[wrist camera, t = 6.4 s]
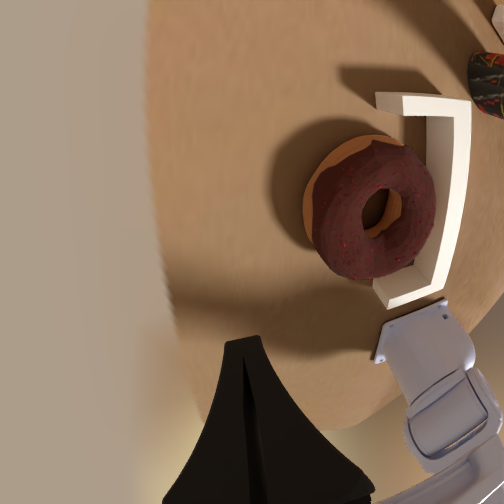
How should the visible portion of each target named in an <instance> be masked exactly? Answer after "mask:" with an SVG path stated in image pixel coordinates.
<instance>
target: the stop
mask: <svg viewBox="0 0 504 504" xmlns="http://www.w3.org/2000/svg"><path fill="white" fill-rule="evenodd" d="M375 98H376V108H377V109H378V110H382V111H386V112H391V113H395V114H399V115H402V116H426V168H427V170H428V171H429V172H430V175H431V177H432V178H433V182H434V188H435V193H436V194H435V195H436V213H435V219H434V226H433V228H432V230H431V233H430V235H429V237H428V239H427V241H426V243H425V244H424V246H423V248H422V249H421V250H420V253H418V255H417V257H415V260H414V265H411V266H408V267H405V268H402V269H400V270H399V271H396V272H394V273H392V274H390V275H386V276H385V277H383V276H382V277H380V278H373V285H372V288H373V289H374V291H375V292H376V294H377V295H378V297H379V298H380V300H381V301H382V303H383V304H384V306H385V307H386V309H387V310H389V309H391V308H394V307H397V306H400V305H402V304H405V303H408V302H410V301H413V300H416V299H418V298H421V297H423V296H426V295H428V294H431V293H433V292H436V291H438V290H440V289H443V288H444V285H445V281H446V278H447V275H448V271H449V268H450V265H451V261H452V257H453V253H454V249H455V245H456V241H457V237H458V233H459V228H460V223H461V218H462V213H463V207H464V201H465V194H466V187H467V179H468V170H469V160H470V145H471V101H467V100H463V99H459V98H454V97H450V96H445V95H437V94H426V93H410V92H375Z"/></svg>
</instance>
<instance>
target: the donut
mask: <svg viewBox="0 0 504 504" xmlns="http://www.w3.org/2000/svg"><path fill="white" fill-rule="evenodd" d="M379 189H389V196H388V201H387V204H386V208H385V212H384V214H383V217H382V219H381V220H380V222H379V223H378V224H377V225H376V226H374V227H372V228H370V229H366V230H363V224H362V220H361V215H362V210H363V208H364V206H365V204H367V200H368V198H369V197H371V196H372V195H373V194H374V193H375V192H376V191H378V190H379ZM376 193H377V192H376ZM435 194H436V193H435V188H434V182H433V178H432V177H431V175H430V172H429V171H428V170H427V168H426V167H425V165H424V164H423V162H422V161H421V160H420V159H419V158H418V156H417V155H416V154H415V152H414V151H413V149H412V148H410V147H409V146H407V145H404V144H402V143H401V142H399V141H398V140H396V139H394V138H391V137H389V136H384V135H364V136H359V137H356V138H353V139H351V140H349V141H347V142H345V143H343V144H342V145H340V146H339V147H337V148H336V149H334V150H333V151H332V152H331V153H330V154H329V155H328V156H327V157H326V158H325V159H324V160H323V161H322V162H321V164H320V165H319V167H318V168H317V170H316V171H315V173H314V174H313V176H312V177H311V179H310V180H309V182H308V184H307V186H306V189H305V193H304V196H303V209H302V212H303V219H304V226H305V230H306V233H307V236H308V238H309V240H310V241H311V243H312V244H313V246H314V247H315V249H316V250H317V252H318V253H319V255H320V256H321V258H322V259H323V260H324V262H325V263H326V264H327V266H328V267H329V268H330V269H331V270H332V271H333V272H335V273H336V274H337V275H340V276H343V277H346V278H348V279H351V280H352V279H353V280H360V281H361V280H362V279H371V278H380V277H382V276H383V277H385V276H386V275H390V274H392V273H394V272H396V271H399V270H400V269H402V268H404V266H406V265H407V264H408V263H410V262H411V261H412V260H413V259H414V258H415V257H417V255H418V253H420V250H421V249H422V248H423V246H424V244H425V243H426V241H427V239H428V237H429V235H430V233H431V230H432V228H433V226H434V219H435V213H436V195H435Z"/></svg>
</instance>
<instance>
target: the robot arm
mask: <svg viewBox="0 0 504 504" xmlns="http://www.w3.org/2000/svg"><path fill="white" fill-rule="evenodd" d="M447 303H448V300H447V299H443V300H441V301H439V302H437V303H434V304H432V305H430V306H427V307H425V308H422V309H420V310H418V311H415V312H413V313H410V314H408V315H405V316H402V317H400V318H397V319H395V320H392V321H389V322H387V323H385V324H384V325H383V327H382V331H381V335H380V339H379V343H378V347H377V351H376V354H375V358H374V363H375V364H378V363H380V362H383V361H385V360H386V361H387V362H388V364H389V366H390V368H391V370H392V372H393V374H394V376H395V378H396V380H397V382H398V384H399V386H400V389H401V391H402V393H403V395H404V397H405V399H406V401H407V403H408V405H409V408H407V409H406V410H405V412H406V414H407V417H406V418H405V419H404V424H403V437H404V440H405V443H406V445H407V447H408V449H409V451H410V452H411V453H412V454H413V455H414V456H415V457H416V458H417V459H418V461H419V463H420V464H421V466H422V468H423V469H424V470H425V472H427V473H433V474H435V475H433V476H432V477H430V478H428V479H426V480H424V481H422V482H420V483H419V484H416V485H415V486H413V487H411V488H409V489H406V490H404V491H403V492H400V493H398V494H396V495H394V496H391V497H389V498H387V499H384V500H382V501H379V502H377V503H374V504H504V447H503V444H502V442H501V440H500V438H499V436H498V433H499V431H500V429H501V426H502V423H503V419H502V418H503V413H502V411H501V408H500V407H499V405H498V401H497V399H496V397H495V395H494V393H493V391H492V389H491V387H490V386H489V384H488V382H487V381H486V379H485V378H484V376H483V375H482V373H481V372H480V371H479V370H478V369H477V368H472V367H473V365H474V362H475V349H474V345H473V343H472V340H471V339H470V337H469V335H468V334H467V333H466V331H465V330H464V328H463V327H462V326H461V324H460V323H459V322H458V320H457V319H456V318H455V316H454V315H453V314H452V312H451V311H450V310H449V308H448V307H447ZM487 418H488V419H487ZM486 419H487V420H486ZM485 420H486V422H485V423H484V424H483V425H482V426H480V427H479V428H477V429H476V430H475V431H473V432H472V433H470V434H469V435H468V436H466V437H465V438H464V439H462V440H460V441H459V442H457V443H456V444H455V445H453V446H451V447H449V448H447V447H448V446H449V445H451V444H453V443H454V442H456V441H457V440H459V439H460V438H462V437H463V436H465V435H466V434H467V433H469V432H470V431H472V430H473V429H474V428H476V427H477V426H478V425H480V424H481V423H482V422H483V421H485ZM445 448H447V449H445ZM374 491H375V487H374V485H373V483H372V482H371V480H370V479H369V478H368V477H367V476H366V475H365V474H364V473H363V471H362V470H361V469H360V468H359V467H358V466H356V465H355V464H354V463H353V462H351V461H350V460H349V459H348V458H347V457H345V456H344V455H343V454H342V453H341V452H340V451H339V450H337V449H336V448H335V447H334V446H333V445H332V444H331V443H330V442H329V441H328V440H327V439H326V438H325V437H324V436H323V435H322V434H321V433H320V432H319V431H318V430H317V429H316V427H315V426H314V425H313V424H312V423H311V422H310V421H309V419H308V418H307V417H306V416H305V415H304V413H303V412H302V411H301V410H300V408H299V407H298V406H297V404H296V403H295V402H294V400H293V399H292V398H291V396H290V395H289V393H288V392H287V390H286V389H285V387H284V386H283V384H282V383H281V381H280V379H279V378H278V376H277V374H276V373H275V371H274V369H273V367H272V365H271V363H270V361H269V359H268V357H267V355H266V353H265V350H264V348H263V344H262V341H261V337H260V336H258V335H255V336H251V337H246V338H241V339H236V340H232V341H227V342H226V343H225V346H224V355H223V361H222V367H221V372H220V376H219V380H218V384H217V388H216V392H215V396H214V399H213V402H212V405H211V409H210V412H209V415H208V417H207V420H206V423H205V425H204V428H203V430H202V433H201V435H200V437H199V440H198V442H197V444H196V446H195V448H194V450H193V452H192V454H191V456H190V458H189V460H188V462H187V463H186V465H185V467H184V468H183V470H182V472H181V474H180V475H179V477H178V478H177V480H176V481H175V483H174V484H173V485H172V487H171V488H170V490H169V491H168V493H167V494H166V495H165V497H164V498H163V500H162V504H371V502H370V501H371V497H370V494H371V493H373V492H374Z"/></svg>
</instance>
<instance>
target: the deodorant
mask: <svg viewBox="0 0 504 504" xmlns="http://www.w3.org/2000/svg"><path fill="white" fill-rule="evenodd" d="M468 82H469V88H470V92H471V95H472V98H473V100H474V102H475V104H476V105H477V107H478V108H479V109H480V110H481V111H482V112H483V113H486V114H489V115H492V116H495V117H498V118H501V119H504V55H503V54H496V53H489V52H479V51H477V52H475V53H474V54H473V55H472V56H471V58H470V61H469V64H468Z"/></svg>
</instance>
